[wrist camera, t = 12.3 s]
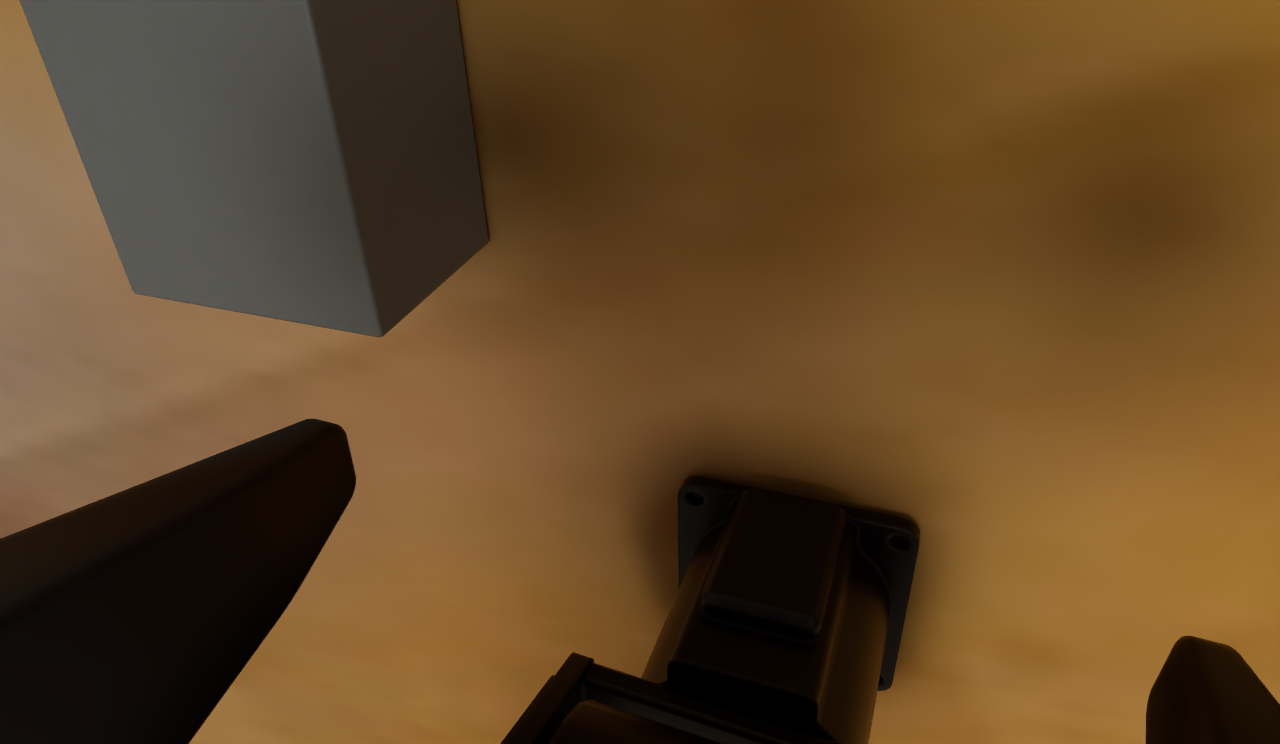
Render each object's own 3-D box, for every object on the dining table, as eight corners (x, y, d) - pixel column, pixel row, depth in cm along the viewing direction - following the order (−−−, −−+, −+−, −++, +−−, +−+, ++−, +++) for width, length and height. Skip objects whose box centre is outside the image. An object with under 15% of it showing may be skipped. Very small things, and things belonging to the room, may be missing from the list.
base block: (490, 242, 23) (382, 339, 20) (269, 212, 25) (132, 294, 22) (450, -53, 20) (305, -5, 16) (193, -59, 22) (9, -19, 18)
